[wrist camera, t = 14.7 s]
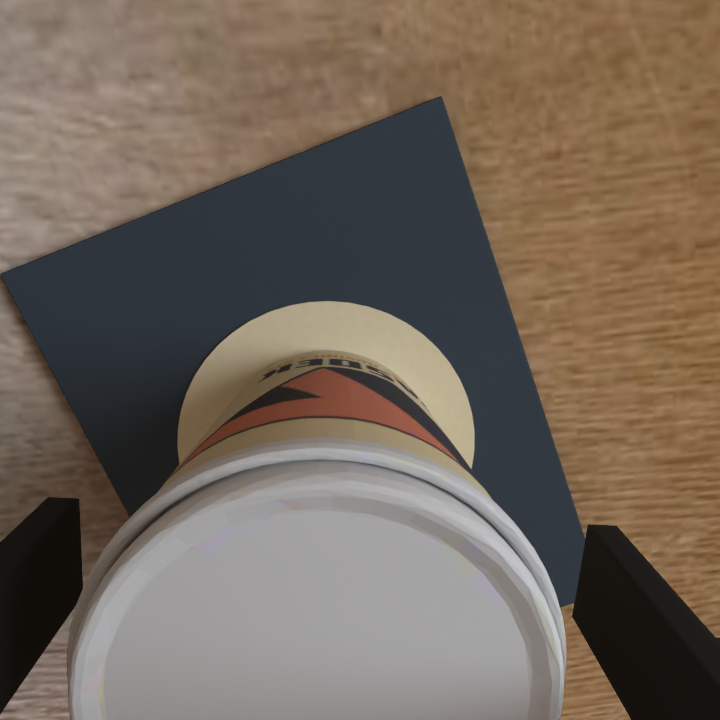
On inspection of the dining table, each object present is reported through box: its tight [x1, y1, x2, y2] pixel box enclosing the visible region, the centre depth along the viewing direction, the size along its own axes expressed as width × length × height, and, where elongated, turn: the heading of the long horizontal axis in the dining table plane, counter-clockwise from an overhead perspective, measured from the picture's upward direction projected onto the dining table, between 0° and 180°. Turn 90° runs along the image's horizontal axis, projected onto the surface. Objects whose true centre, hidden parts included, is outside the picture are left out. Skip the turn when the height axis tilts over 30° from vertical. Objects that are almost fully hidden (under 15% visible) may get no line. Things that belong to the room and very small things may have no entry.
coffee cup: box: [67, 350, 566, 720], centre depth 16 cm, size 9×9×12 cm
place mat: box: [0, 97, 585, 607], centre depth 22 cm, size 20×16×1 cm
